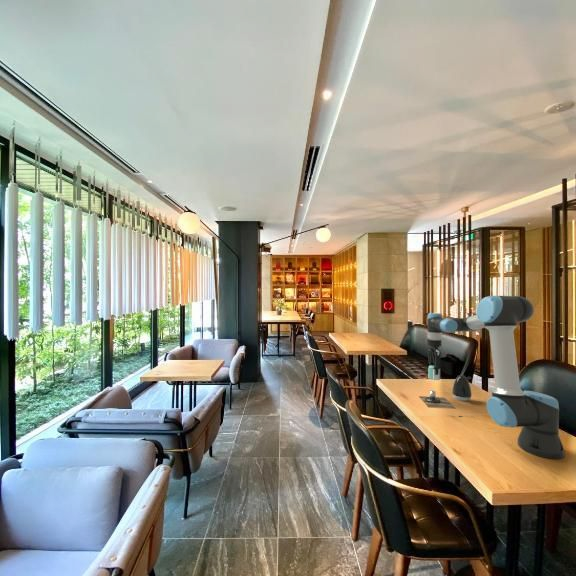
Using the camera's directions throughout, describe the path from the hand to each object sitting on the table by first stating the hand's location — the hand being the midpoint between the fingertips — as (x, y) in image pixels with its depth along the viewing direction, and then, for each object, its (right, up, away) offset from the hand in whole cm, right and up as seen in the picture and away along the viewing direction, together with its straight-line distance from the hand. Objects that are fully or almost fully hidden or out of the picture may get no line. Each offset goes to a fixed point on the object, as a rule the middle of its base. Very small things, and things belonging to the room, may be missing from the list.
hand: (433, 378), depth 181 cm
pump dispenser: (+19, -15, +4) cm, 24 cm away
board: (+1, -14, -2) cm, 15 cm away
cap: (0, 0, 0) cm, 0 cm away
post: (-1, -13, 0) cm, 14 cm away
